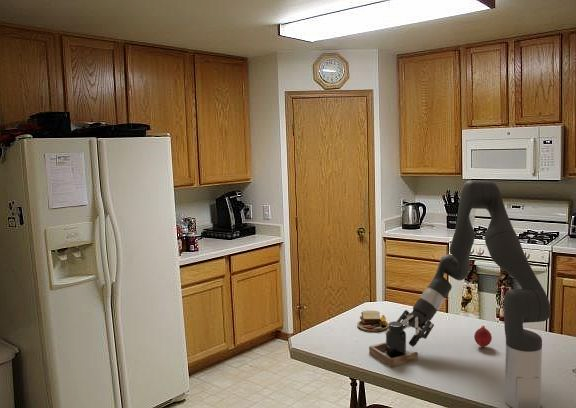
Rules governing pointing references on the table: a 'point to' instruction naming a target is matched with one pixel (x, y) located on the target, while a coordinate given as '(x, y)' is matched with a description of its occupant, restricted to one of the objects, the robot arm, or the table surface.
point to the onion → (483, 337)
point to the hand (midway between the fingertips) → (403, 341)
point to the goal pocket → (392, 362)
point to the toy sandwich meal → (372, 321)
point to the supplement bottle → (395, 340)
